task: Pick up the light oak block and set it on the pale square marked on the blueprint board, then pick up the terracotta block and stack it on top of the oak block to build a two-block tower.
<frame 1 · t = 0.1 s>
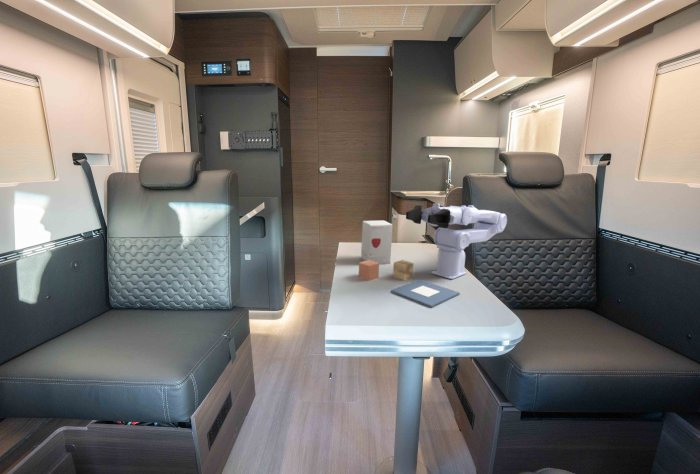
hand: (417, 217, 97), 22 cm above the table, tool horizontal, fingers open, 7 cm apart
blueprint board: (425, 293, 98), on the table
oak block: (402, 277, 111), on the table
supplement box: (375, 261, 128), on the table
terracotta block: (368, 277, 110), on the table
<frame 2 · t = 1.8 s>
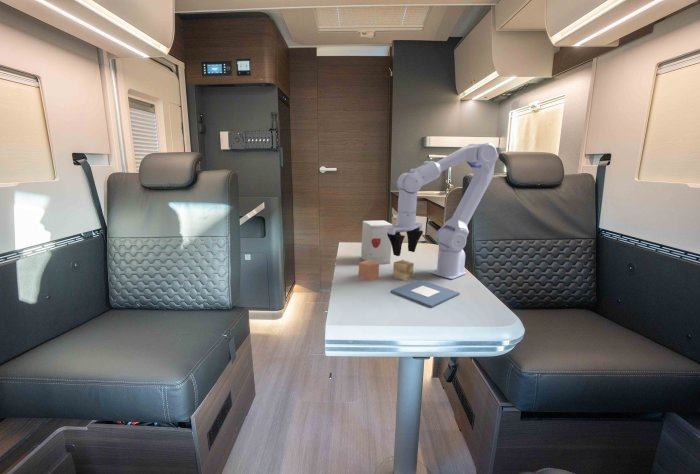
hand: (404, 253, 109), 8 cm above the table, tool pointing down, fingers open, 7 cm apart
nothing on the table moved.
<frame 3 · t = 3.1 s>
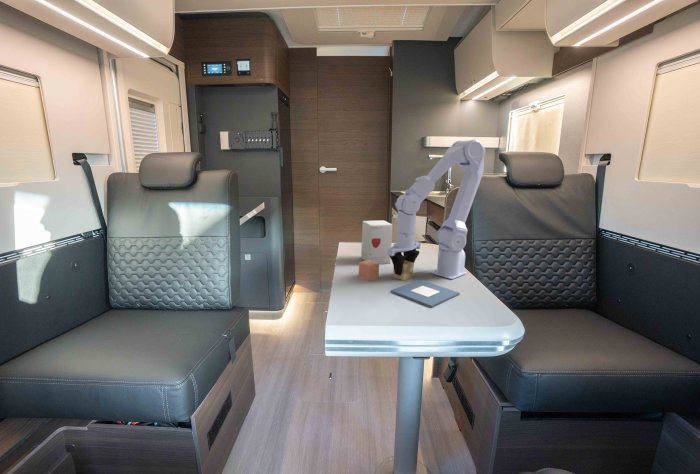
hand: (403, 272, 111), 1 cm above the table, tool pointing down, fingers closed on oak block, 5 cm apart
oak block: (402, 277, 111), on the table, touching gripper
everything else where it was.
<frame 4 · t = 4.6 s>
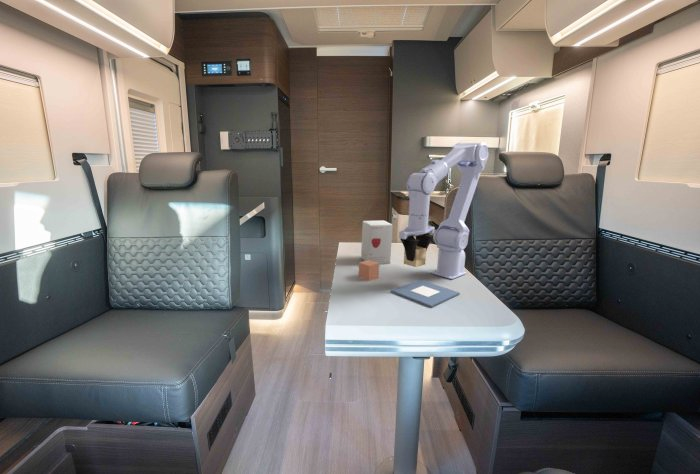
hand: (415, 258, 102), 8 cm above the table, tool pointing down, fingers closed on oak block, 5 cm apart
oak block: (414, 264, 102), point 7 cm above the table, touching gripper
everything else where it was.
when the fingers open (3 cm above the table, at t = 6.4 s): oak block stays where it is, resting on blueprint board.
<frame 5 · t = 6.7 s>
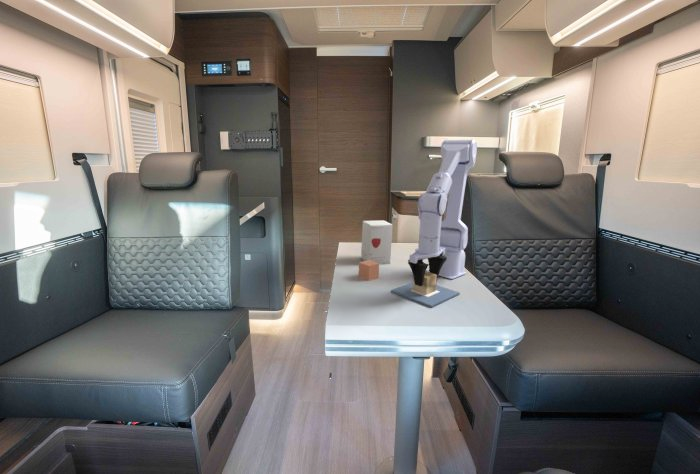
hand: (426, 282, 97), 3 cm above the table, tool pointing down, fingers open, 7 cm apart
oak block: (424, 290, 98), point 1 cm above the table, touching blueprint board
everything else where it was.
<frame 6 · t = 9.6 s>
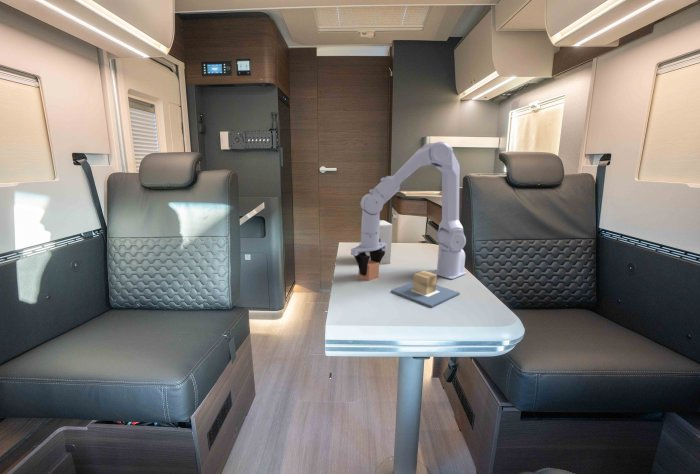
hand: (368, 273, 110), 1 cm above the table, tool pointing down, fingers closed on terracotta block, 5 cm apart
terracotta block: (368, 277, 110), on the table, touching gripper
everything else where it was.
when the fingers open (8 cm above the table, at t = 13.2 s): terracotta block stays where it is, resting on oak block.
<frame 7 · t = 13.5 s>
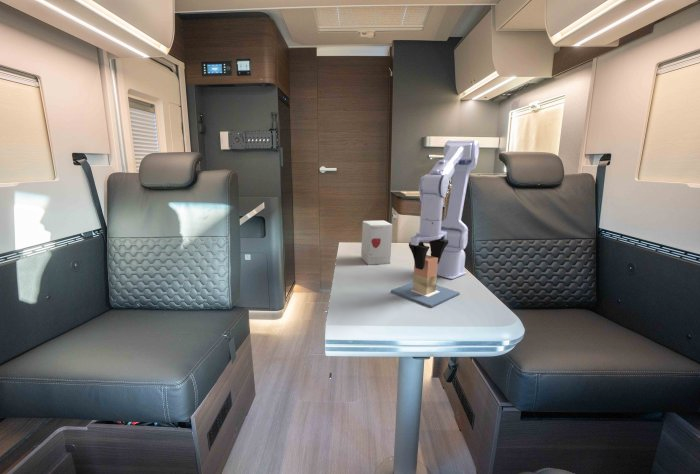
hand: (427, 265, 96), 8 cm above the table, tool pointing down, fingers open, 7 cm apart
oak block: (424, 290, 98), point 1 cm above the table, touching blueprint board, terracotta block
terracotta block: (425, 274, 97), point 6 cm above the table, touching oak block
everything else where it was.
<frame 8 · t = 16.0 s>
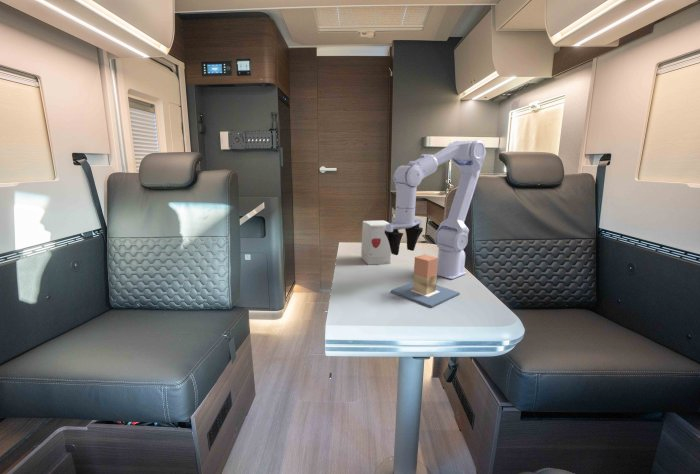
hand: (402, 252, 102), 10 cm above the table, tool pointing down, fingers open, 7 cm apart
nothing on the table moved.
at the end: oak block 0.4 cm off-centre on the blueprint board, point 0.7 cm above the blueprint board's base; terracotta block 0.1 cm off-centre on the oak block, point 5.0 cm above the oak block's base; terracotta block tilted 0° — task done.
